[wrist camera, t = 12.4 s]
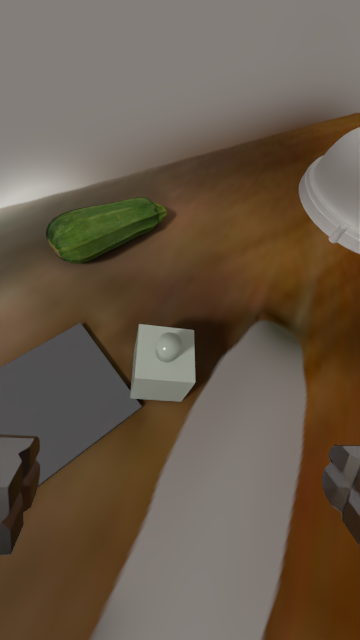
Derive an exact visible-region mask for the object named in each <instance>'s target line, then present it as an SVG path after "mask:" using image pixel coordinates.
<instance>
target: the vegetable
mask: <svg viewBox="0 0 360 640" xmlns="http://www.w3.org/2000/svg"><path fill="white" fill-rule="evenodd" d="M166 215H167V214H166V210H165V208H164V206H162V205H158V204H156V203H154V202H152V201H151V200H149V199H148V198H144V197H140V198H134V199H129V200H124V201H119V202H114V203H110V204H105V205H98V206H92V207H85V208H80V209H76V210H72V211H68V212H66V213H63V214H61V215H59V216H58V217H56V218H54V219H53V220H52V221H51V222H50V223H49V225H48V227H47V231H46V236H47V240H48V243H49V245H50V246H51V248H52V249H53V250H54V252H55V253H56V254H57V255H58V256H59V257H60V258H61V259H63V260H64V261H68V262H70V263H83V262H88V261H90V260H92V259H95V258H96V257H98V256H100V255H102V254H104V253H106V252H108V251H110V250H112V249H114V248H116V247H118V246H120V245H122V244H124V243H126V242H128V241H129V240H131V239H133V238H135V237H137V236H140V235H142V234H145V233H148V232H150V231H151V230H153V229H154V227H155V226H156V225H157V224H158V223H160V222H161V221H162V220H164V218H165V216H166Z"/></svg>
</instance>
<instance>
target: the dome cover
mask: <svg viewBox="0 0 360 640" xmlns="http://www.w3.org/2000/svg"><path fill="white" fill-rule="evenodd" d="M299 196H300V200H301V203H302V205H303V207H304V209H305V211H306V212H307V214H308V215H309V217H310V218H311V219H312V221H313V222H314V223H315V224H316V225H317V226H318V227H319V228H320V229H321V230H322V231H323V232H324V233H326V234H327V235H328V236H329V241H330V242H332V243H336V242H338V243H339V244H341V245H343V246H344V247H346V248H348V249H350V250H352V251H354V252H356V253H359V254H360V127H359V128H357V129H354V130H352V131H350V132H349V133H347V134H346V135H344V136H343V137H342V138H340V139H339V140H338V141H337V142H336V143H335V144H334V145H333V146H332V147H331V148H330V149H329V150H328V151H327V152H326V154H325V155H323V156H321V157H319V158H318V159H316V160H315V161H314V162H313V163H312V164H311V165H310V166H309V168H308V169H307V171H306V172H305V174H304V175H303V177H302V178H301V180H300V183H299Z"/></svg>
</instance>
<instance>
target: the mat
mask: <svg viewBox="0 0 360 640" xmlns="http://www.w3.org/2000/svg"><path fill="white" fill-rule="evenodd" d="M130 392H131V391H130V390H129V388H128V387H127V386H126V384H125V383H124V382H123V380H122V379H121V378H120V376H119V375H118V373H117V372H116V371H115V369H114V368H113V367H112V365H111V364H110V363H109V361H108V360H107V358H106V357H105V356H104V354H103V353H102V352H101V350H100V349H99V348H98V346H97V345H96V343H95V342H94V341H93V339H92V338H91V337H90V335H89V334H88V333H87V331H86V330H85V328H84V327H83V326H82V324H81V323H79V324H77V325H76V326H74V327H72V328H70V329H68V330H67V331H65V332H63V333H61V334H60V335H58V336H56V337H54V338H52V339H51V340H49V341H47V342H45V343H43V344H42V345H40V346H38V347H36V348H34V349H33V350H31V351H29V352H27V353H25V354H24V355H22V356H20V357H18V358H16V359H15V360H13V361H11V362H9V363H8V364H6V365H4V366H2V367H0V434H3V435H23V436H37V437H38V438H39V440H40V451H39V453H38V455H37V457H36V460H37V461H38V463H39V464H40V478H39V484H38V486H39V485H41V484H42V483H43V482H45V481H46V480H47V479H49V478H50V477H51V476H53V475H54V474H55V473H56V472H58V471H59V470H60V469H62V468H63V467H64V466H66V465H67V464H68V463H70V462H71V461H72V460H74V459H75V458H76V457H77V456H79V455H80V454H81V453H83V452H84V451H85V450H87V449H88V448H89V447H91V446H92V445H93V444H94V443H96V442H97V441H98V440H100V439H101V438H102V437H104V436H105V435H106V434H108V433H109V432H110V431H111V430H113V429H114V428H115V427H117V426H118V425H119V424H121V423H122V422H123V421H125V420H126V419H127V418H129V417H130V416H131V415H132V414H134V413H135V412H136V411H138V410H139V409H140V408H142V406H141V405H140V403H139V402H138V401H137V399H131V398H130Z"/></svg>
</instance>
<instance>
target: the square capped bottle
mask: <svg viewBox="0 0 360 640" xmlns="http://www.w3.org/2000/svg"><path fill="white" fill-rule="evenodd" d="M194 384H195V349H194V330H189V329H179V328H170V327H161V326H151V325H142V324H139V328H138V333H137V339H136V344H135V350H134V360H133V371H132V381H131V392H130V398H131V399H147V400H164V401H180V402H181V401H182V400H183V399H184V397H185V396H186V395H187V393H188V392H189V391H190V389H191V388H192V387H193V385H194Z"/></svg>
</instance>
